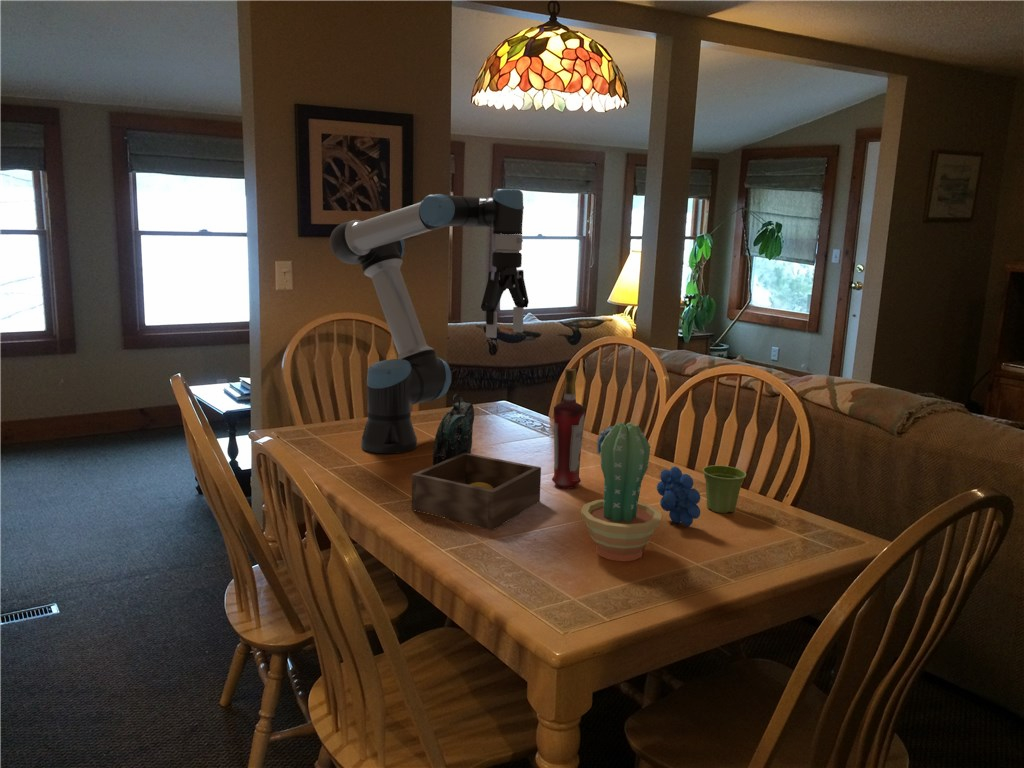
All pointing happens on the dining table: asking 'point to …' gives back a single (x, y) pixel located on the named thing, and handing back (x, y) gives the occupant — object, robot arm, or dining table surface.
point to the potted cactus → (621, 496)
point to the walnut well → (476, 489)
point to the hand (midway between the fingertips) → (504, 334)
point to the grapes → (678, 496)
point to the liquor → (568, 435)
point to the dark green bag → (454, 432)
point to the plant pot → (722, 487)
